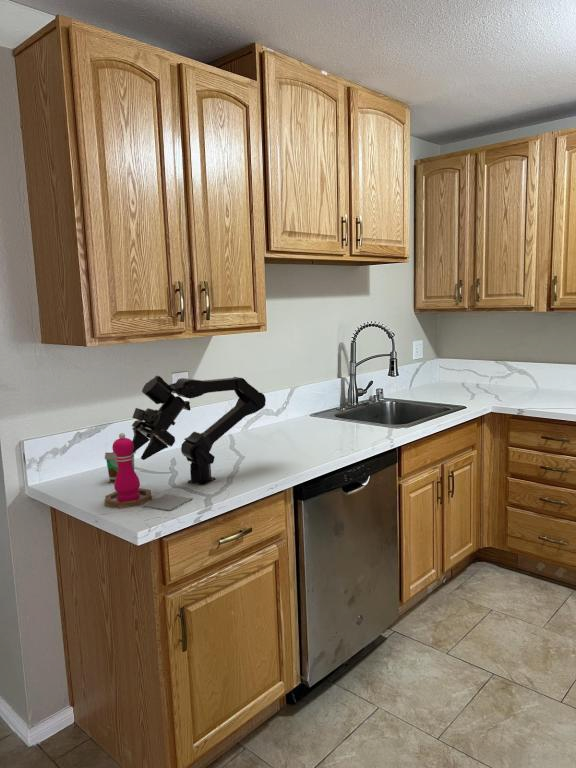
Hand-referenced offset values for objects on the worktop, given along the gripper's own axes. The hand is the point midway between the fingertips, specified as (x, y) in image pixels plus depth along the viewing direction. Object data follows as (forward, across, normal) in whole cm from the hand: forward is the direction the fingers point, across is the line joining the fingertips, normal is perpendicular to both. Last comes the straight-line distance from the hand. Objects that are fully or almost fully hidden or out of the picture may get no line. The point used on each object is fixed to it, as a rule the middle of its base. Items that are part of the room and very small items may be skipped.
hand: (135, 456), depth 174 cm
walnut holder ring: (+11, 0, +7) cm, 13 cm away
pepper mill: (+11, 0, +7) cm, 13 cm away
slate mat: (+6, +11, +12) cm, 17 cm away
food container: (+6, -21, +12) cm, 25 cm away
